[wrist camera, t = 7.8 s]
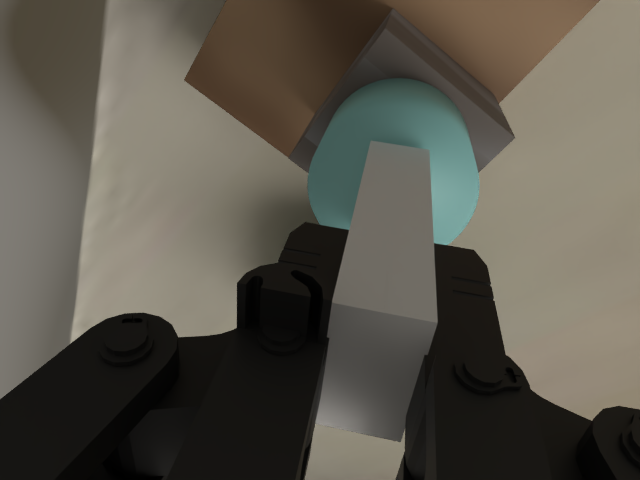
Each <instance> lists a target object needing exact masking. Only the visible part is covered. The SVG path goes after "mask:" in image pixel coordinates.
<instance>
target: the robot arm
mask: <svg viewBox="0 0 640 480" xmlns="http://www.w3.org/2000/svg"><path fill="white" fill-rule="evenodd" d="M490 284H491V282H490V277H489V272H488V268H487V265H486V264H485V263H484V262H483V261H482V259H481V258H480V257H479V256H478V254H477V253H476V252H475V251H474V250H471V249H465V248H459V247H454V246H448V245H442V244H436V243H434V236H433V215H432V194H431V173H430V152H429V150H428V149H421V148H415V147H409V146H402V145H396V144H390V143H383V142H377V141H371V142H370V146H369V150H368V154H367V158H366V162H365V167H364V171H363V175H362V179H361V183H360V187H359V192H358V196H357V200H356V204H355V208H354V212H353V216H352V221H351V225H350V229H349V230H347V229H341V228H335V227H330V226H324V225H318V224H313V223H307V222H305V223H304V224H302V225H301V226H299V227H298V228H297V229H295V230H294V231H292V232H291V233H290V235H289V237H288V239H287V242H286V244H285V246H284V250H283V251H282V253H281V255H280V258H279V260H278V263H275V264H269V265H264V266H259V267H257V268H255V269H253V270H251V271H249V272H247V273H246V274H245V275H244V276H243V277H242V278H241V279H240V280H239V282H238V283H237V328H236V329H234V330H232V331H228V332H225V333H222V334H217V335H210V336H197V337H178V336H177V334H176V332H175V330H174V328H173V326H172V324H170V323H169V322H167V321H166V320H164V319H163V318H161V317H159V316H155V315H151V314H146V313H127V314H122V315H118V316H115V317H111V318H108V319H105V320H104V321H102V322H100V323H99V324H97V325H95V326H93V327H92V328H90V329H89V330H88V331H86V332H85V333H84V334H82V335H81V336H80V337H79V338H77V339H76V340H75V341H74V342H72V343H71V344H70V345H69V346H67V347H66V348H65V349H64V350H62V351H61V352H60V353H58V354H57V355H56V356H55V357H54V358H52V359H51V360H50V361H48V362H47V363H46V364H44V365H43V366H42V367H41V368H39V369H38V370H37V371H36V372H34V373H33V374H32V375H31V376H29V377H28V378H27V379H25V380H24V381H23V382H22V383H21V384H19V385H18V386H17V387H15V388H14V389H13V390H12V391H10V392H9V393H8V394H6V395H5V396H4V397H3V398H1V399H0V480H305V475H306V470H307V466H308V461H309V456H310V450H311V443H312V436H313V431H314V427H315V424H319V425H324V426H328V427H333V428H338V429H342V430H347V431H352V432H356V433H361V434H366V435H370V436H375V437H380V438H384V439H389V440H394V441H398V442H401V439H402V436H403V433H404V430H405V452H404V455H403V458H402V461H401V464H400V468H399V471H398V474H397V477H396V480H640V410H639V409H633V408H628V407H622V406H616V407H611V408H606V409H603V410H602V411H601V412H600V413H599V414H598V415H597V416H596V417H595V418H594V419H593V421H591V420H588V419H586V418H584V417H582V416H579V415H577V414H575V413H573V412H571V411H568V410H566V409H564V408H562V407H560V406H557V405H555V404H553V403H551V402H549V401H548V400H546V399H544V398H542V397H540V396H539V395H537V394H536V393H535V392H533V391H532V390H531V389H530V385H529V383H528V381H527V379H526V377H525V375H524V373H523V371H522V370H521V369H520V368H519V367H518V365H517V364H516V363H515V362H514V361H513V360H512V359H511V358H510V357H508V356H506V354H505V350H504V345H503V340H502V335H501V330H500V325H499V321H498V316H497V311H496V306H495V301H493V298H494V297H493V292H492V287H491V286H490ZM405 426H406V427H405Z"/></svg>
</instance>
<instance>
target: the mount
mask: <svg viewBox="0 0 640 480" xmlns="http://www.w3.org/2000/svg"><path fill="white" fill-rule="evenodd" d="M599 1H600V0H226V2H225V4H224V6H223V8H222V10H221V12H220V13H219V15H218V17H217V19H216V21H215V23H214V25H213V27H212V28H211V30H210V32H209V34H208V36H207V38H206V40H205V42H204V43H203V45H202V47H201V49H200V51H199V53H198V55H197V57H196V59H195V60H194V62H193V64H192V66H191V68H190V70H189V72H188V74H187V75H186V77H185V79H184V80H185V81H186V82H187V83H189V84H190V85H191V86H193V87H194V88H195V89H197V90H198V91H199V92H201V93H202V94H203V95H205V96H206V97H207V98H209V99H210V100H212V101H213V102H214V103H216V104H217V105H218V106H220V107H221V108H222V109H224V110H225V111H226V112H228V113H229V114H230V115H232V116H233V117H234V118H236V119H237V120H238V121H240V122H241V123H243V124H244V125H245V126H247V127H248V128H249V129H251V130H252V131H253V132H255V133H256V134H257V135H259V136H260V137H261V138H263V139H264V140H265V141H267V142H268V143H270V144H271V145H272V146H274V147H275V148H276V149H278V150H279V151H280V152H282V153H283V154H284V155H286V156H287V157H288V158H289V159H290V160H291V161H293V162H294V163H295V164H297V165H298V166H299V167H301V168H302V169H303V170H305V171H306V172H308V173H309V168H310V165H311V161H312V158H313V156H314V154H315V152H316V150H317V148H318V146H319V144H320V142H321V140H322V138H323V136H324V134H325V132H326V130H327V127H328V125H329V123H330V121H331V119H332V117H333V115H334V114H335V112H336V111H337V109H338V108H339V106H340V105H341V104H342V103H343V102H344V101H345V99H347V98H348V97H349V96H350V95H351V94H352V93H354V92H355V91H357V90H358V89H360V88H362V87H364V86H366V85H368V84H370V83H373V82H376V81H379V80H384V79H391V78H406V79H413V80H417V81H421V82H424V83H426V84H429V85H431V86H433V87H435V88H437V89H438V90H440V91H441V92H442V93H444V94H445V95H446V96H447V97H448V98H450V99H451V100H452V101H453V103H454V104H455V105H456V106H457V108H458V109H459V111H460V112H461V114H462V116H463V118H464V121H465V123H466V126H467V129H468V133H469V137H470V141H471V145H472V149H473V153H474V157H475V161H476V165H477V169H478V173H479V172H480V171H481V170H482V169H483V168H484V167H485V166H486V165H487V164H488V163H489V162H490V161H491V160H492V159H493V158H494V157H495V156H496V155H498V154H499V153H500V152H501V151H502V150H503V149H504V148H505V147H506V146H507V145H508V144H509V143H510V142H511V141H512V140H513V139H514V138H515V136H514V134H513V132H512V130H511V128H510V126H509V124H508V122H507V120H506V118H505V116H504V114H503V112H502V110H501V108H500V106H499V103H500V102H501V101H502V100H503V99H504V98H505V97H506V96H507V95H508V94H509V93H510V92H511V91H512V90H513V89H514V88H515V87H516V86H517V84H518V83H519V82H520V81H521V80H522V79H523V78H524V77H525V76H526V75H527V74H528V73H529V72H530V71H531V70H532V69H533V68H534V67H535V66H536V65H537V64H538V63H539V62H540V61H541V60H542V59H543V58H544V57H545V56H546V55H547V54H548V53H549V52H550V51H551V50H552V49H553V48H554V47H555V46H556V45H557V44H558V43H559V42H560V41H561V40H562V39H563V38H564V37H565V36H566V34H567V33H568V32H569V31H570V30H571V29H572V28H573V27H574V26H575V25H576V24H577V23H578V22H579V21H580V20H581V19H582V18H583V17H584V16H585V15H586V14H587V13H588V12H589V11H590V10H591V9H592V8H593V7H594V6H595V5H596V4H597V3H598V2H599Z"/></svg>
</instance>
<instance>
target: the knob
mask: <svg viewBox="0 0 640 480" xmlns="http://www.w3.org/2000/svg"><path fill="white" fill-rule="evenodd" d="M371 141H377V142H383V143H390V144H396V145H402V146H409V147H415V148H421V149H428V150H429V152H430V173H431V194H432V215H433V236H434V243H436V244H442V245H448V244H449V243H450V242H452V241H453V240H454V239H455V238H456V237H457V236H458V235H459V234H460V233H461V232H462V231H463V229H464V228H465V227H466V226H467V224H468V222H469V221H470V219H471V217H472V215H473V213H474V210H475V208H476V205H477V201H478V196H479V174H478V169H477V165H476V161H475V157H474V153H473V149H472V145H471V141H470V137H469V133H468V129H467V126H466V123H465V121H464V118H463V116H462V114H461V112H460V111H459V109H458V108H457V106H456V105H455V104H454V103H453V101H452V100H451V99H450V98H448V97H447V96H446V95H445V94H444V93H442V92H441V91H440V90H438V89H437V88H435V87H433V86H431V85H429V84H426V83H424V82H421V81H417V80H413V79H406V78H391V79H384V80H379V81H376V82H373V83H370V84H368V85H366V86H364V87H362V88H360V89H358V90H357V91H355V92H354V93H352V94H351V95H350V96H349V97H348V98H347V99H345V101H344V102H343V103H342V104H341V105H340V106H339V108H338V109H337V111H336V112H335V114H334V115H333V117H332V119H331V121H330V123H329V125H328V127H327V130H326V132H325V134H324V136H323V138H322V140H321V142H320V144H319V146H318V148H317V150H316V152H315V154H314V156H313V158H312V161H311V165H310V168H309V174H308V195H309V200H310V204H311V207H312V210H313V212H314V215H315V217H316V218H317V220H318V222H319V224H320V225H324V226H330V227H335V228H341V229H347V230H349V229H350V225H351V221H352V216H353V212H354V208H355V204H356V200H357V196H358V192H359V187H360V183H361V179H362V175H363V171H364V167H365V162H366V158H367V154H368V150H369V146H370V142H371Z"/></svg>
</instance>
